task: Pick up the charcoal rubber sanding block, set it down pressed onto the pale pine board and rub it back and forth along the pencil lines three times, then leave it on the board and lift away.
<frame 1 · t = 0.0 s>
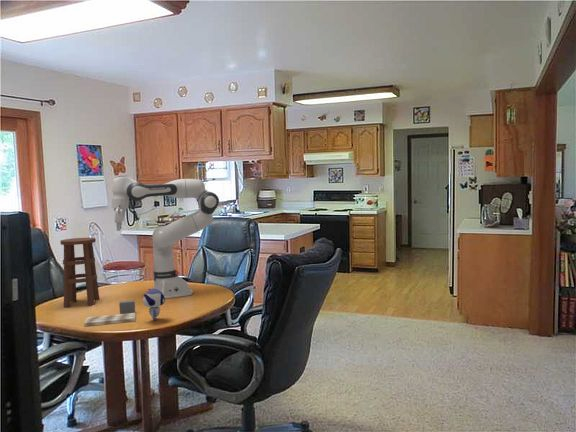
hand: (118, 229, 265), 39 cm above the table, tool pointing down, fingers open, 8 cm apart
board: (110, 320, 225), on the table
stool: (82, 303, 261), on the table
toy: (155, 320, 224), on the table
sanding block: (127, 313, 237), on the table
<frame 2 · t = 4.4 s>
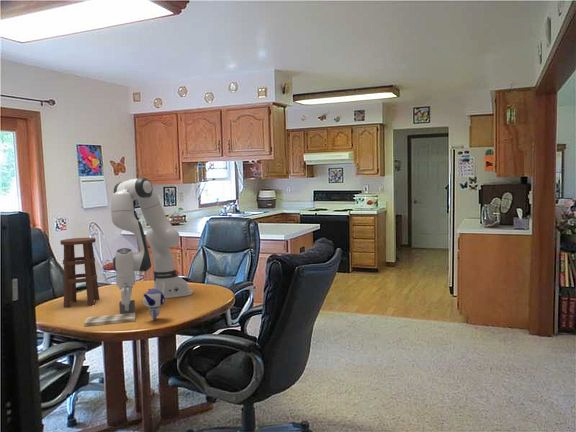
hand: (127, 309, 237), 2 cm above the table, tool pointing down, fingers closed on sanding block, 3 cm apart
sanding block: (127, 313, 237), on the table, touching gripper
everything else where it was.
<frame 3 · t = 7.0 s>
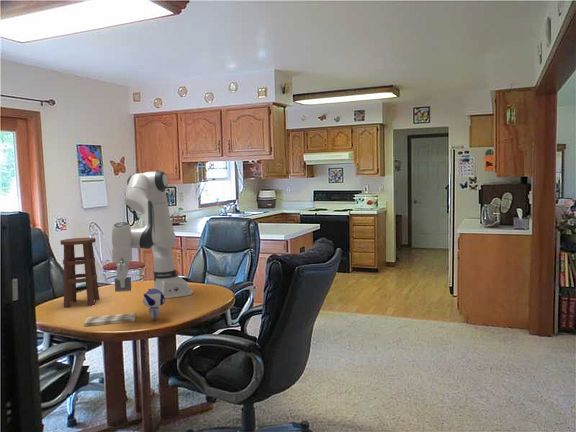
hand: (123, 286, 226), 16 cm above the table, tool pointing down, fingers closed on sanding block, 3 cm apart
sanding block: (123, 290, 226), point 14 cm above the table, touching gripper
everything else where it was.
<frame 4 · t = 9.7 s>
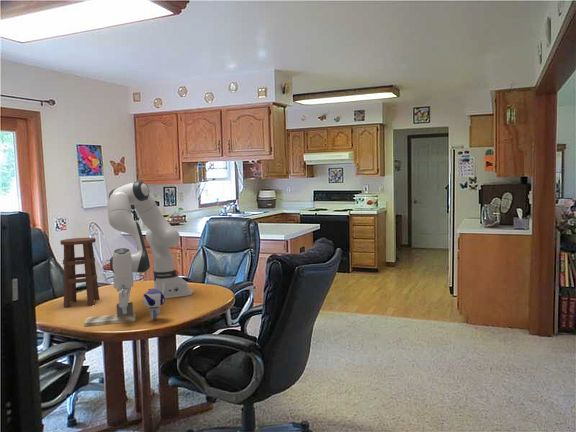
hand: (125, 312, 226), 4 cm above the table, tool pointing down, fingers closed on sanding block, 3 cm apart
sanding block: (125, 316, 227), point 2 cm above the table, touching gripper
everything else where it was.
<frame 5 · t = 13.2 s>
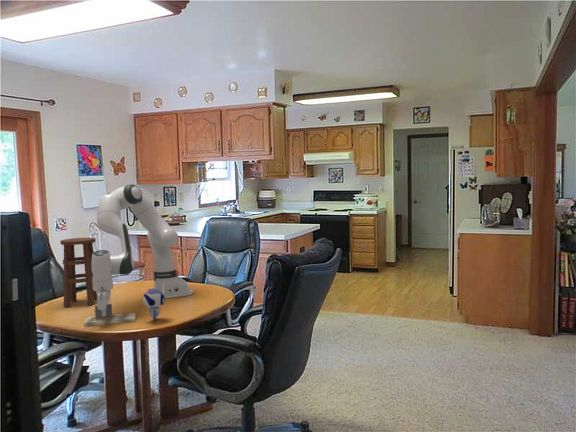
hand: (104, 314, 224), 3 cm above the table, tool pointing down, fingers closed on sanding block, 3 cm apart
sanding block: (104, 318, 224), point 2 cm above the table, touching gripper
everything else where it was.
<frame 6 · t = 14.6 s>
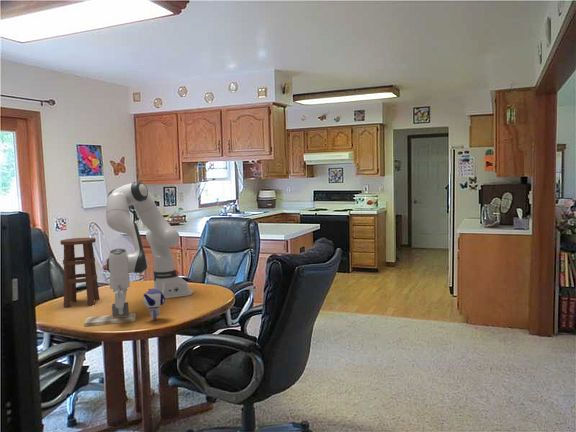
hand: (121, 312, 226), 3 cm above the table, tool pointing down, fingers closed on sanding block, 3 cm apart
sanding block: (120, 316, 226), point 2 cm above the table, touching gripper
everything else where it was.
when the fingers open (3 cm above the table, at t = 16.8 s): sanding block stays where it is, resting on board.
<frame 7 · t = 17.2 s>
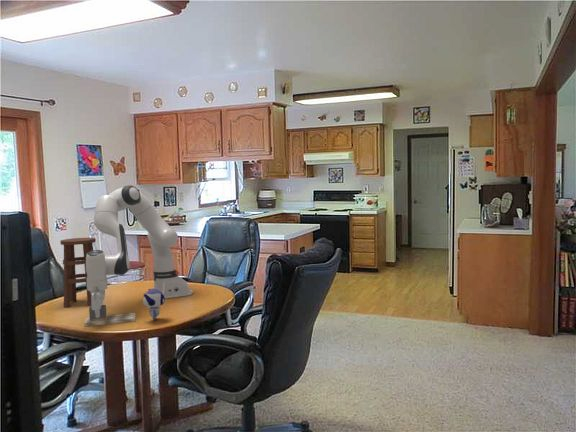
hand: (99, 314, 223), 3 cm above the table, tool pointing down, fingers open, 8 cm apart
sanding block: (98, 318, 223), point 2 cm above the table, touching board
everything else where it was.
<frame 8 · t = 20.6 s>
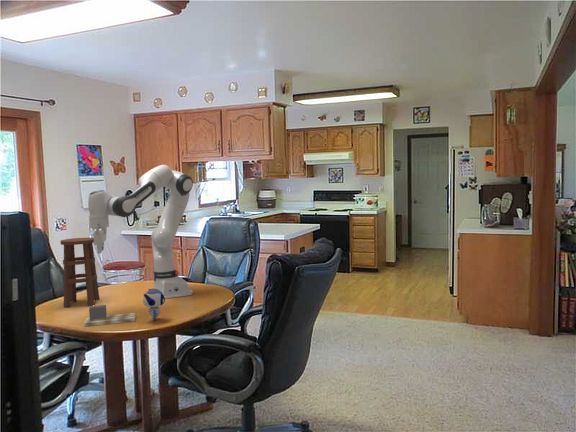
hand: (100, 251, 235), 31 cm above the table, tool pointing down, fingers open, 8 cm apart
nothing on the table moved.
at the end: sanding block inside the target area on the board (5.4 cm from its centre), point 1.5 cm above the board's base; sanding block touching board; the gripper is holding nothing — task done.
